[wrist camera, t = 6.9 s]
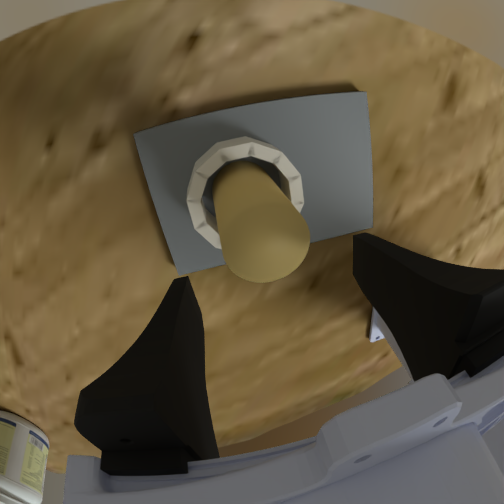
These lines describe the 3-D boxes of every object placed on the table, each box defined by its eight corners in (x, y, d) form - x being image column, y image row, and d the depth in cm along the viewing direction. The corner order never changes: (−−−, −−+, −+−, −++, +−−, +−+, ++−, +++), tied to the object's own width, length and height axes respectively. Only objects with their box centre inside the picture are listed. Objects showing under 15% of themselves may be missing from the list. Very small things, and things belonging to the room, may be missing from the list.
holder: (359, 91, 19) (385, 93, 16) (367, 222, 25) (388, 241, 22) (136, 132, 18) (124, 140, 15) (179, 268, 24) (178, 295, 21)
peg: (266, 155, 19) (306, 194, 13) (274, 209, 21) (312, 271, 15) (206, 167, 19) (213, 214, 12) (218, 222, 21) (231, 290, 14)
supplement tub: (-8, 421, 33) (-25, 492, 18) (-8, 398, 29) (-32, 484, 15) (46, 448, 38) (37, 521, 23) (55, 431, 34) (44, 519, 20)
